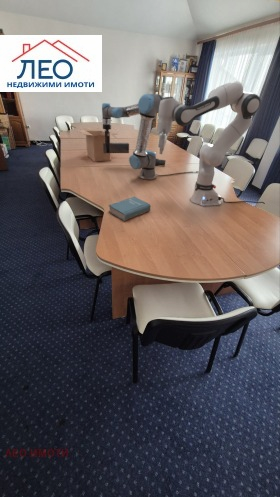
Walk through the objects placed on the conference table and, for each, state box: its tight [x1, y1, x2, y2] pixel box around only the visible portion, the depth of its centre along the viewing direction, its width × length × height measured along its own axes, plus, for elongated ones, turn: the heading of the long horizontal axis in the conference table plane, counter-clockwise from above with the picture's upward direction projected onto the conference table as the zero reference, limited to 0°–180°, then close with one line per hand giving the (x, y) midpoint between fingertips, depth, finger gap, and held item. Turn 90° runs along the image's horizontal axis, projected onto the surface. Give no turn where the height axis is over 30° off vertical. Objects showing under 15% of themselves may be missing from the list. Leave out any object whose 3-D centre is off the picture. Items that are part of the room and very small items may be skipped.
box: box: [77, 128, 118, 163], centre depth 240 cm, size 44×36×27 cm
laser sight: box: [155, 158, 166, 167], centre depth 237 cm, size 10×22×10 cm, turn 78°
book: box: [108, 196, 152, 222], centre depth 146 cm, size 23×16×5 cm
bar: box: [103, 142, 130, 154], centre depth 209 cm, size 24×5×8 cm, turn 105°
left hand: (107, 151), depth 209 cm, fingers closed on bar, 5 cm apart
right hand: (161, 152), depth 144 cm, fingers open, 8 cm apart
